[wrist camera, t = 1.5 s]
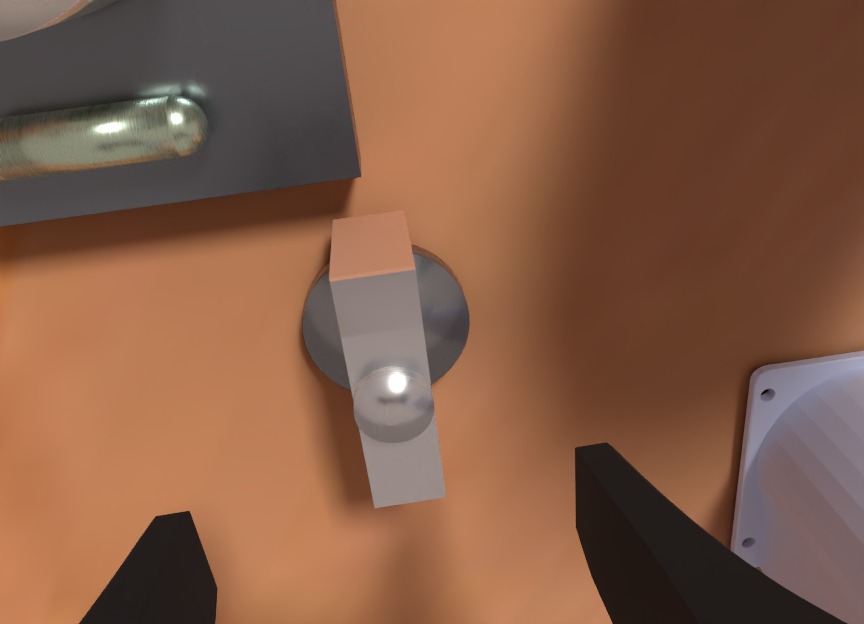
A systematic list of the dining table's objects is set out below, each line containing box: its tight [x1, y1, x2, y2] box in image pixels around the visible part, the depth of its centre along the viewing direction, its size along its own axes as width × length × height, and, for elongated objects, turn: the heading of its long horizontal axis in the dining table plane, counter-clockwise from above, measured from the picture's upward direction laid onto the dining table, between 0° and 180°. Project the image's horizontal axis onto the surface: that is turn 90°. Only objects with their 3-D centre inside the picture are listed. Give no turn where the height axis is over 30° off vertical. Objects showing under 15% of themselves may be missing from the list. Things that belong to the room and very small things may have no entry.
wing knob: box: [303, 210, 469, 508], centre depth 20 cm, size 7×5×5 cm
